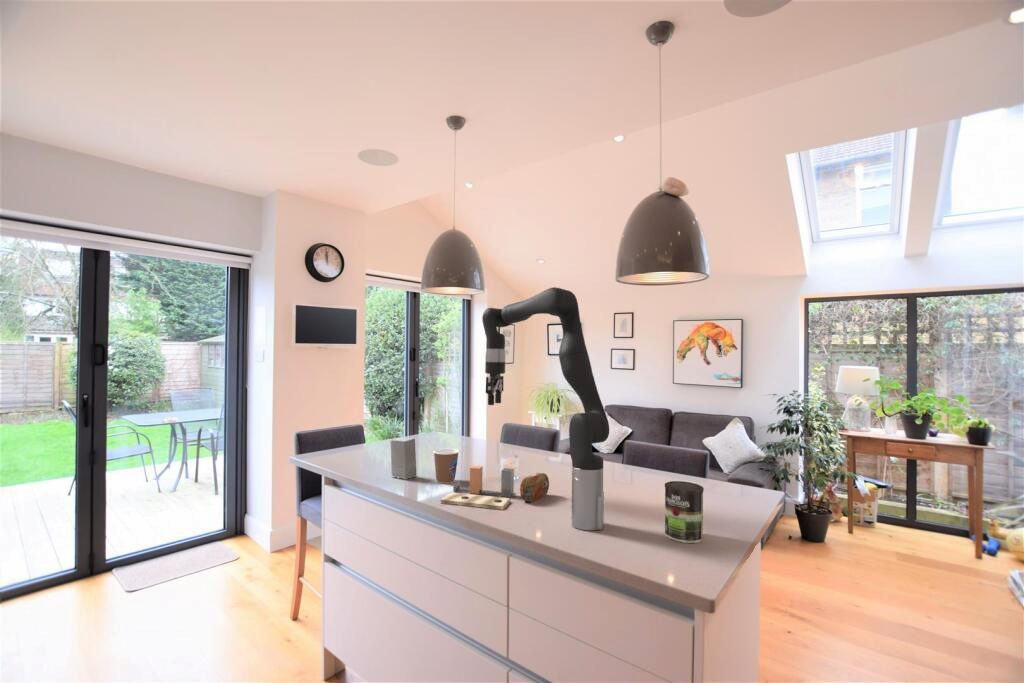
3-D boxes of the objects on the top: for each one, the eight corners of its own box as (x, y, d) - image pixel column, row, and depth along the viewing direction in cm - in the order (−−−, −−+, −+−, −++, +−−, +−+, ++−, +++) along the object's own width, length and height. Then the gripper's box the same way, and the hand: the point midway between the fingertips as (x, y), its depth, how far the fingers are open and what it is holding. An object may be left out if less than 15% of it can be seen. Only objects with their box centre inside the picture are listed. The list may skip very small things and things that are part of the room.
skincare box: (416, 477, 190) (417, 438, 191) (404, 480, 184) (405, 440, 185) (401, 474, 195) (402, 436, 196) (389, 477, 189) (390, 438, 190)
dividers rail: (516, 495, 167) (517, 469, 167) (514, 498, 163) (514, 471, 164) (457, 489, 173) (457, 464, 174) (453, 491, 170) (453, 466, 170)
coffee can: (693, 546, 122) (693, 493, 123) (657, 535, 130) (658, 485, 130) (709, 536, 130) (709, 486, 130) (674, 527, 137) (675, 479, 138)
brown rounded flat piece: (525, 504, 156) (526, 479, 157) (518, 503, 158) (518, 478, 158) (549, 495, 168) (549, 471, 169) (542, 493, 170) (542, 470, 170)
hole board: (510, 501, 159) (510, 497, 159) (502, 509, 150) (502, 505, 150) (451, 495, 165) (451, 492, 165) (440, 503, 156) (440, 499, 156)
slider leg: (482, 491, 170) (482, 466, 171) (478, 494, 167) (479, 468, 167) (473, 490, 171) (473, 465, 172) (469, 493, 168) (470, 467, 168)
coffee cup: (454, 485, 179) (455, 454, 179) (428, 484, 180) (429, 452, 181) (461, 478, 189) (462, 449, 189) (437, 477, 190) (437, 448, 191)
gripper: (499, 361, 167) (498, 406, 166) (510, 361, 180) (509, 402, 180) (479, 360, 169) (478, 405, 168) (491, 360, 183) (491, 402, 182)
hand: (494, 404), depth 174 cm, fingers open, 8 cm apart
